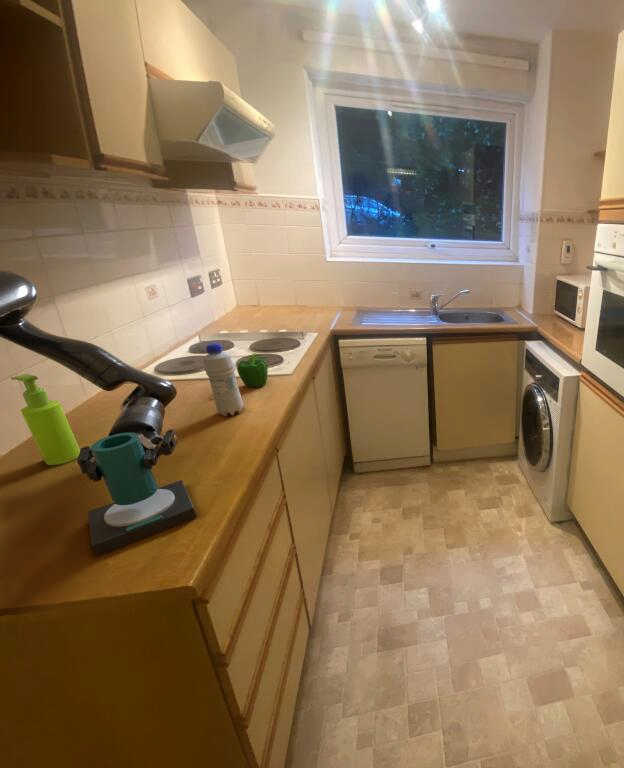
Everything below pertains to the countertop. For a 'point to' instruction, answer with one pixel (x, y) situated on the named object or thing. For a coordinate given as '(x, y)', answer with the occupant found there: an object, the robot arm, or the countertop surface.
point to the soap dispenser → (48, 424)
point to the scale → (139, 518)
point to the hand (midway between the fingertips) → (121, 470)
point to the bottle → (222, 380)
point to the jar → (124, 468)
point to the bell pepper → (253, 371)
